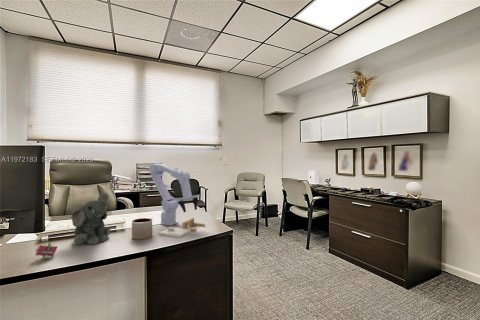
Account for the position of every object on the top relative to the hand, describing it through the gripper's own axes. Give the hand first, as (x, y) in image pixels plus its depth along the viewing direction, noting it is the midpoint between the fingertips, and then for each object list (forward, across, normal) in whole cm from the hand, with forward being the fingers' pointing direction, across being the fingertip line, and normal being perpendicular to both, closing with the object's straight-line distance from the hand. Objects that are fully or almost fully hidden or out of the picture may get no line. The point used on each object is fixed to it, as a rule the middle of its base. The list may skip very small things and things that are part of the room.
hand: (190, 210), depth 151 cm
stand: (+10, -8, -11) cm, 17 cm away
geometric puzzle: (+4, -52, -51) cm, 73 cm away
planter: (+7, -24, -20) cm, 32 cm away
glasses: (+11, 0, 0) cm, 11 cm away
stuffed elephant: (+2, -48, -28) cm, 56 cm away
